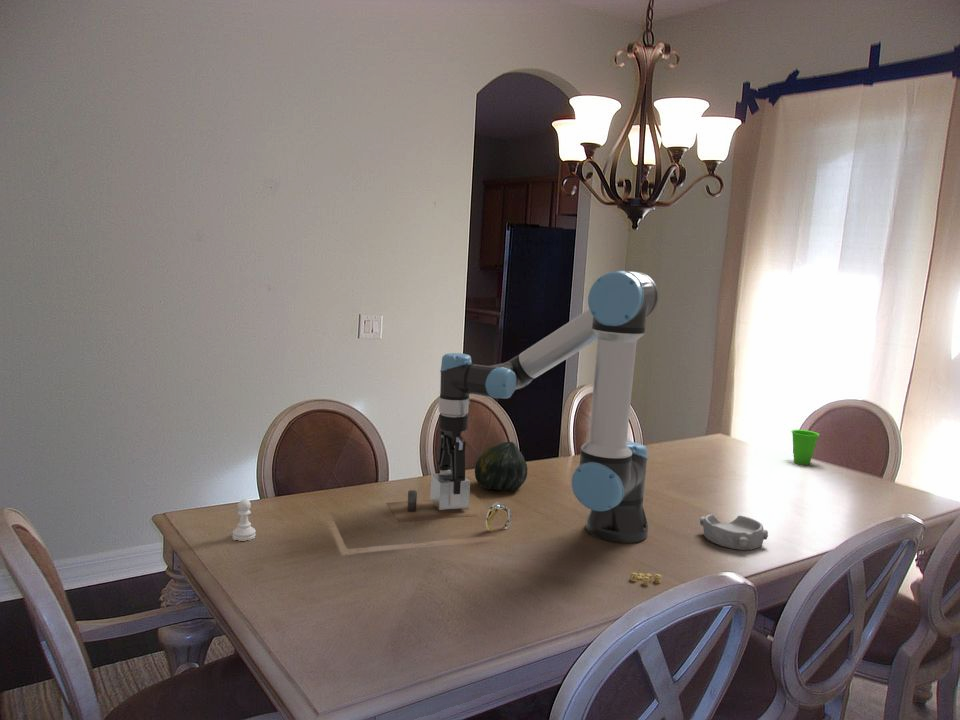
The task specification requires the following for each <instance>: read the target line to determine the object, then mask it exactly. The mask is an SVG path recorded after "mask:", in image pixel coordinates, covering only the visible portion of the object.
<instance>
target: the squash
mask: <svg viewBox="0 0 960 720" xmlns="http://www.w3.org/2000/svg"><path fill="white" fill-rule="evenodd" d="M528 469H529V468H528V465H527V462H526V460H525V456H524V455H523V454H522V451H520V449H519V447H518V446H517V444H516V443H515V442H513V441H506V442H505V441H504V442H501V443H498V444H495V445H493V446H492V447H488V448H487V449H486V450H484V451H483V452H482V453H481V454H480V456H479V457H478V458H477V460H476V462H475V467H474V477H475V480H476V482H477V483H478V485H479V486H481V487H483V488H485V489H487V490H488V491H489V490H491V491H492V490H494V489H495V490H496V491H500V490H503V491H508V492H515V491H518V490H519V489H520V488H521V486H522V485H523V484H524V483H525V481H526V479H527V477H528Z"/></svg>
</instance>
